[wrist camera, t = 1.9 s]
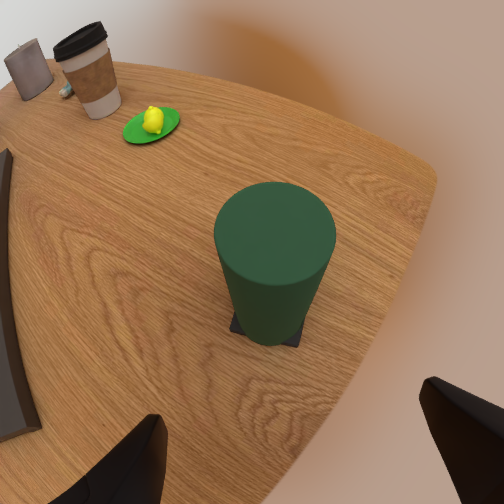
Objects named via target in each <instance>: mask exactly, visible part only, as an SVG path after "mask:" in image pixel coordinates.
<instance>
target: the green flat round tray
mask: <svg viewBox="0 0 504 504" xmlns="http://www.w3.org/2000/svg"><path fill="white" fill-rule="evenodd" d="M179 119H180V116H179V113H178V112H177V111H176V110H174V109H172V108H167V107H159V108H156V107H152V106H150V107H149V108H148V110H147V111H144V112H142V113H140V114H138V115H137V116H135V117H134V118H133V119H131V120H130V121H129V122H128V123H127V125H126V126H125V128H124V130H123V137H124V138H125V140H127V141H128V142H131V143H147V142H151V141H154V140H156V139H159V138H161V137H163V136H165V135H166V134H168V133H169V132H170V131H172V130H173V129H174V128H175V127H176V125H177V124H178V122H179Z"/></svg>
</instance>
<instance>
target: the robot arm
mask: <svg viewBox="0 0 504 504" xmlns="http://www.w3.org/2000/svg"><path fill="white" fill-rule="evenodd" d="M419 401H420V404H421V407H422V410H423V412H424V415H425V418H426V421H427V424H428V427H429V430H430V432H431V434H432V437H433V439H434V441H435V443H436V445H437V448H438V450H439V452H440V454H441V456H442V459H443V461H444V463H445V465H446V467H447V470H448V472H449V474H450V476H451V479H452V481H453V484H454V486H455V489H456V491H457V493H458V496H459V498H460V501H461V503H462V504H504V409H503V408H501V407H499V406H497V405H494V404H492V403H489V402H488V401H486V400H484V399H482V398H479V397H477V396H475V395H473V394H471V393H469V392H466V391H465V390H462V389H460V388H458V387H456V386H454V385H452V384H450V383H448V382H446V381H444V380H442V379H440V378H438V377H435V376H433V377H430V378H427V379H425V380H424V382H423V385H422V388H421V391H420V394H419ZM167 443H168V431H167V428H166V426H165V423H164V421H163V418H162V416H161V415H159V414H148V415H147V416H146V417H145V418H144V419H143V420H142V421H141V422H140V423H139V424H138V425H137V426H136V427H135V428H134V429H133V430H132V431H131V432H130V433H128V434H127V435H126V436H125V437H124V438H123V439H122V440H121V441H120V442H119V443H118V444H117V445H116V446H115V447H114V448H113V449H112V450H111V451H110V452H109V453H108V454H107V455H106V456H105V457H103V458H102V459H101V460H100V461H99V462H98V463H97V464H96V465H95V466H94V467H93V468H92V469H91V470H90V471H89V472H87V473H86V475H84V476H83V477H82V478H81V479H80V480H79V481H77V482H76V483H75V484H74V485H73V486H72V487H70V488H69V489H68V490H67V491H65V492H64V493H63V494H61V495H60V496H58V497H57V498H56V499H54V500H53V501H51V502H50V503H48V504H160V501H161V496H162V490H163V485H164V479H165V473H166V459H167Z"/></svg>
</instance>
